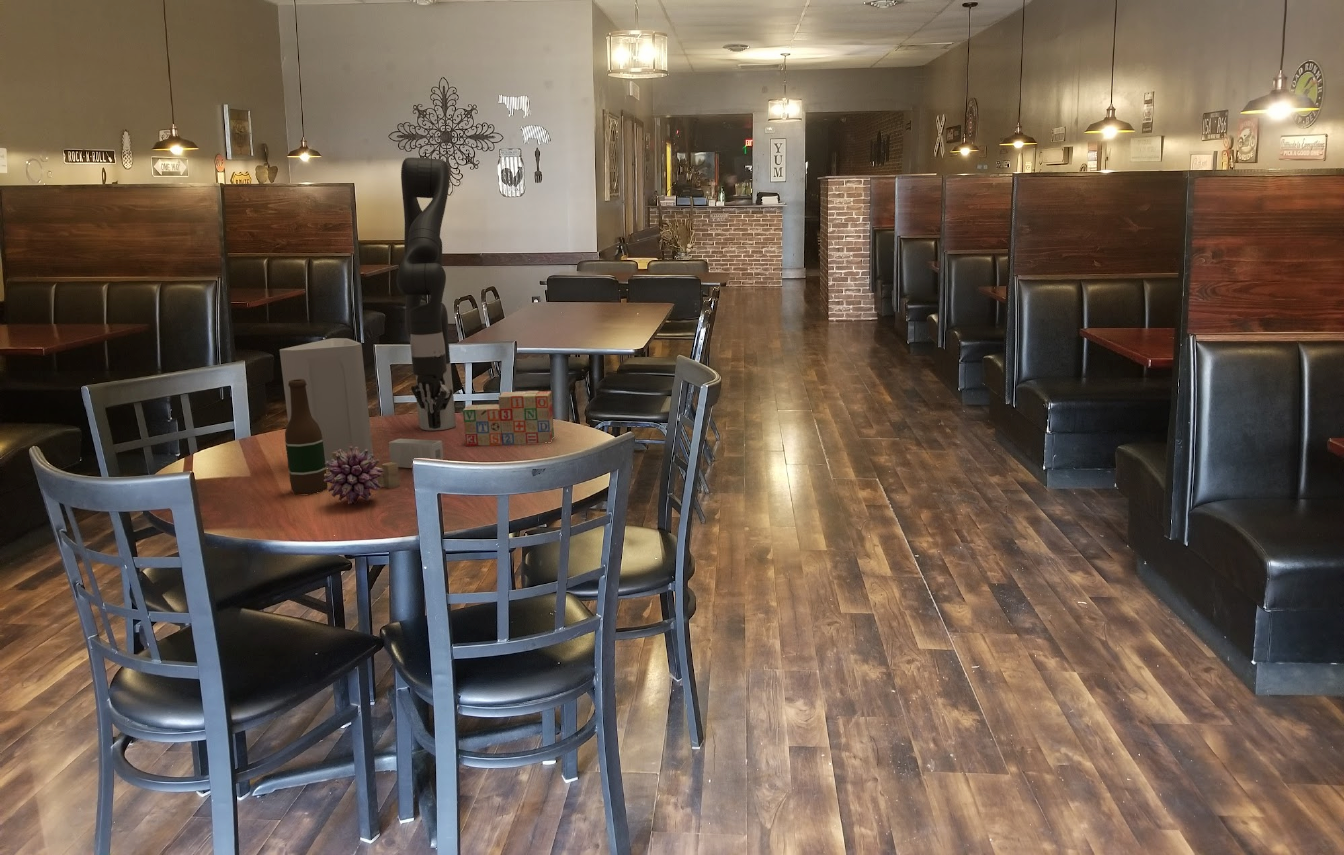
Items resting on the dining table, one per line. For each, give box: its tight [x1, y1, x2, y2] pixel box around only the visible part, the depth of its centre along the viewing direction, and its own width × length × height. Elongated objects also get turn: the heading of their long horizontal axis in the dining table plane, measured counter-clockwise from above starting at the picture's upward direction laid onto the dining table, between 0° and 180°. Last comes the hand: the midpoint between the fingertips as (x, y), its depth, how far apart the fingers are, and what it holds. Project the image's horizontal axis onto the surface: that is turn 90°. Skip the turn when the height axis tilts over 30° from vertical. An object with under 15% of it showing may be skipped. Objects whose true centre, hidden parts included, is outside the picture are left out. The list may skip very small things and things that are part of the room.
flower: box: [324, 447, 383, 505], centre depth 223 cm, size 12×12×12 cm
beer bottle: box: [284, 379, 329, 495], centre depth 233 cm, size 8×8×24 cm
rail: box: [332, 451, 401, 489], centre depth 242 cm, size 22×2×5 cm, turn 48°
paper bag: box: [279, 337, 374, 468], centre depth 258 cm, size 19×15×28 cm
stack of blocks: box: [462, 390, 555, 447], centre depth 272 cm, size 21×6×12 cm, turn 87°
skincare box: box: [388, 438, 444, 469], centre depth 252 cm, size 6×4×12 cm
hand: (435, 427), depth 251 cm, fingers closed
